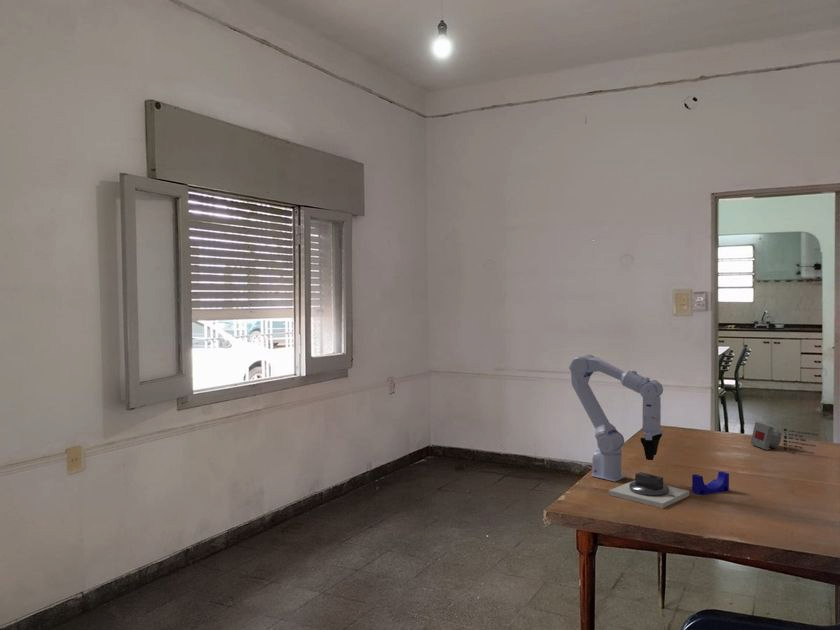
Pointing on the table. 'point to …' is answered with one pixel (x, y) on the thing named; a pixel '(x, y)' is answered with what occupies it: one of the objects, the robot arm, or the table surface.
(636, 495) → the dial panel
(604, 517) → the table surface
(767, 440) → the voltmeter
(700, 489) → the blue cradle block
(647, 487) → the dial
